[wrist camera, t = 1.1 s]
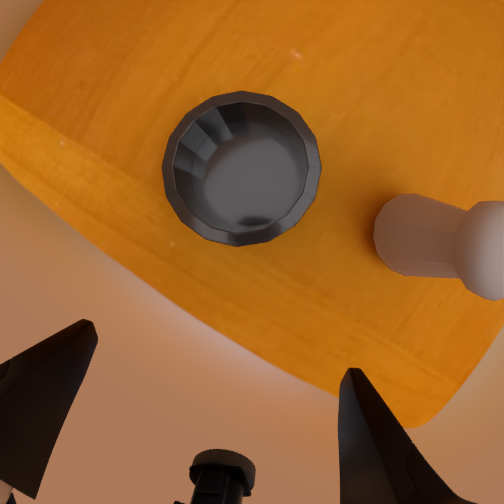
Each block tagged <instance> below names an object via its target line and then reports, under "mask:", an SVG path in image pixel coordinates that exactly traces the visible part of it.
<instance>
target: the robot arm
mask: <svg viewBox="0 0 504 504" xmlns="http://www.w3.org/2000/svg"><path fill="white" fill-rule="evenodd" d="M97 342H98V336H97V333H96V330H95V327H94V324H93V322H91V321H89V320H86V319H81V320H79V321H77V322H76V323H74V324H72V325H70V326H68V327H67V328H65V329H63V330H61V331H59V332H58V333H56V334H54V335H52V336H50V337H49V338H47V339H45V340H43V341H41V342H39V343H38V344H36V345H34V346H33V347H30V348H29V349H27V350H25V351H23V352H22V353H20V354H18V355H16V356H14V357H13V358H12V359H9V360H7V361H6V362H4V363H2V364H0V504H16V501H15V499H14V495H13V493H12V490H13V488H15V489H17V490H18V491H20V492H22V493H23V494H25V495H27V496H29V497H31V498H32V499H35V498H36V496H37V493H38V490H39V487H40V484H41V481H42V478H43V475H44V472H45V469H46V467H47V464H48V461H49V460H48V459H49V458H50V455H51V453H52V450H53V448H54V445H55V443H56V440H57V438H58V435H59V433H60V430H61V428H62V426H63V423H64V421H65V419H66V416H67V414H68V412H69V409H70V407H71V405H72V403H73V401H74V398H75V396H76V394H77V392H78V390H79V388H80V386H81V383H82V381H83V379H84V377H85V374H86V372H87V369H88V367H89V364H90V361H91V358H92V355H93V353H94V350H95V348H96V345H97ZM338 441H339V465H340V504H477V503H474V502H470V501H467V500H465V499H462V498H460V497H459V496H457V495H456V494H455V493H454V492H453V491H452V490H451V489H450V488H449V487H448V486H447V484H445V482H444V481H443V480H442V479H441V478H440V476H438V474H437V473H436V472H435V471H434V470H433V469H432V467H431V466H430V465H429V464H428V462H427V461H426V460H425V459H424V457H423V456H422V455H421V453H420V452H419V450H418V449H417V447H416V446H415V445H414V443H412V440H411V439H410V437H409V436H408V435H407V433H406V432H405V430H404V429H403V427H402V426H401V425H400V423H399V422H398V420H397V419H396V417H395V416H394V415H393V413H392V412H391V410H390V409H389V408H388V406H387V405H386V403H385V402H384V400H383V399H382V398H381V396H380V395H379V393H378V392H377V391H376V389H375V388H374V386H373V385H372V384H371V382H370V381H369V379H368V378H367V377H366V375H365V374H364V373H363V371H362V370H361V369H360V368H348V369H347V371H346V373H345V375H344V377H343V379H342V381H341V383H340V391H339V413H338ZM189 471H190V473H191V475H192V477H193V479H194V480H195V482H196V485H195V489H194V492H193V496H192V498H191V502H190V504H242V498H243V497H247V496H251V490H250V487H249V484H248V481H247V478H246V475H245V472H244V469H243V468H242V467H240V466H193V465H192V466H190V467H189ZM174 504H184V503H180V502H179V501H175V502H174Z"/></svg>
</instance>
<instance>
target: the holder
mask: <svg viewBox="0 0 504 504" xmlns="http://www.w3.org/2000/svg"><path fill="white" fill-rule="evenodd" d="M321 169H322V168H321V161H320V156H319V151H318V146H317V141H316V138H315V136H314V134H313V133H312V131H311V130H310V128H309V127H308V126H307V124H306V123H305V121H304V120H303V118H302V117H301V116H300V114H299V113H298V112H297V111H295V110H294V109H292V108H291V107H289V106H287V105H286V104H284V103H283V102H281V101H279V100H278V99H276V98H274V97H272V96H269V95H263V94H258V93H252V92H246V91H238V92H232V93H227V94H223V95H218V96H213V97H211V98H209V99H208V100H206V101H205V102H203V103H201V104H200V105H198V106H197V107H195V108H194V109H192V110H191V111H189V112H188V113H187V114H186V115H185V116H184V117H183V119H182V120H181V121H180V123H179V124H178V126H177V127H176V128H175V130H174V131H173V133H172V134H171V135H170V137H169V140H168V143H167V147H166V151H165V155H164V159H163V163H162V173H163V180H164V187H165V194H166V197H167V199H168V201H169V202H170V204H171V206H172V207H173V209H174V211H175V212H176V214H177V216H178V217H179V219H180V221H181V222H182V223H184V224H185V225H186V226H188V227H189V228H191V229H192V230H193V231H195V232H196V233H197V234H199V235H200V236H202V237H203V238H204V239H207V240H210V241H214V242H218V243H222V244H226V245H231V246H235V247H236V246H237V247H239V246H246V245H252V244H258V243H264V242H269V241H271V240H272V239H274V238H276V237H277V236H279V235H280V234H282V233H284V232H285V231H287V230H289V229H290V228H292V227H294V226H295V225H296V224H297V223H298V222H299V220H300V219H301V217H302V216H303V215H304V213H305V212H306V211H307V209H308V208H309V206H310V205H311V204H312V202H313V201H314V198H315V196H316V192H317V188H318V183H319V178H320V174H321Z"/></svg>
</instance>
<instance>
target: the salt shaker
mask: <svg viewBox="0 0 504 504" xmlns="http://www.w3.org/2000/svg"><path fill="white" fill-rule="evenodd" d="M373 239H374V243H375V247H376V251H377V255H378V256H379V257H380V258H381V259H382V261H383V262H384V263H385V264H386V265H387V266H388V267H389V269H390V270H393V271H395V272H397V273H400V274H402V275H404V276H421V277H440V278H460V279H461V280H462V282H463V284H464V285H465V287H466V288H467V289H468V290H470V291H471V292H473V293H475V294H477V295H479V296H481V297H483V298H485V299H487V300H494V301H497V300H500V299H503V298H504V202H503V201H484V202H478V203H477V204H475V205H474V206H473V207H472V208H471V209H469V210H468V211H466V210H463V209H460V208H457V207H455V206H452V205H449V204H446V203H443V202H440V201H437V200H434V199H431V198H428V197H424V196H421V195H418V194H400V195H398V196H396V197H395V198H393V199H392V200H390V201H389V202H387V203H386V204H384V206H383V207H382V209H381V211H380V212H379V214H378V216H377V217H376V219H375V225H374V234H373Z"/></svg>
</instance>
